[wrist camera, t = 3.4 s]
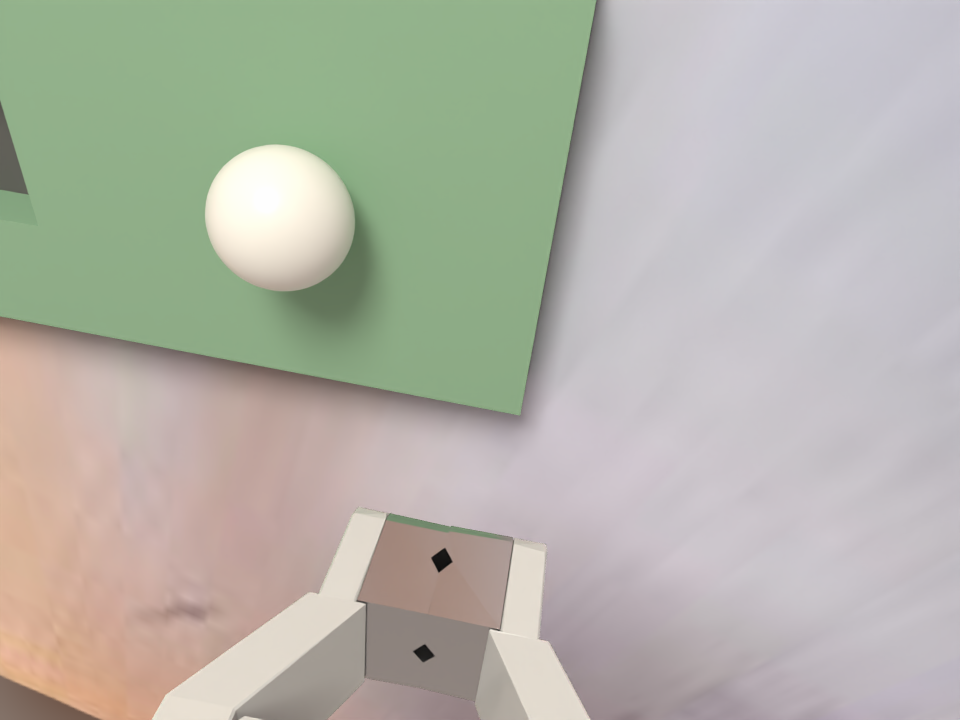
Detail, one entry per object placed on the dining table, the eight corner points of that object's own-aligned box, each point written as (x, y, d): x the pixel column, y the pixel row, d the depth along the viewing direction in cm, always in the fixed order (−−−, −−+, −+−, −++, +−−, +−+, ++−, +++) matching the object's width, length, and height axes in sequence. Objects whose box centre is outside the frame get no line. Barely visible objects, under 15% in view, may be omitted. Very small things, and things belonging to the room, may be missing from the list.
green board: (604, -46, 18) (603, -39, 16) (527, 374, 26) (519, 415, 24) (-273, -165, 20) (-376, -173, 18) (-88, 260, 28) (-143, 289, 26)
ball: (373, 138, 19) (323, 187, 16) (371, 263, 21) (328, 329, 18) (239, 117, 19) (162, 160, 16) (252, 242, 21) (187, 303, 18)
